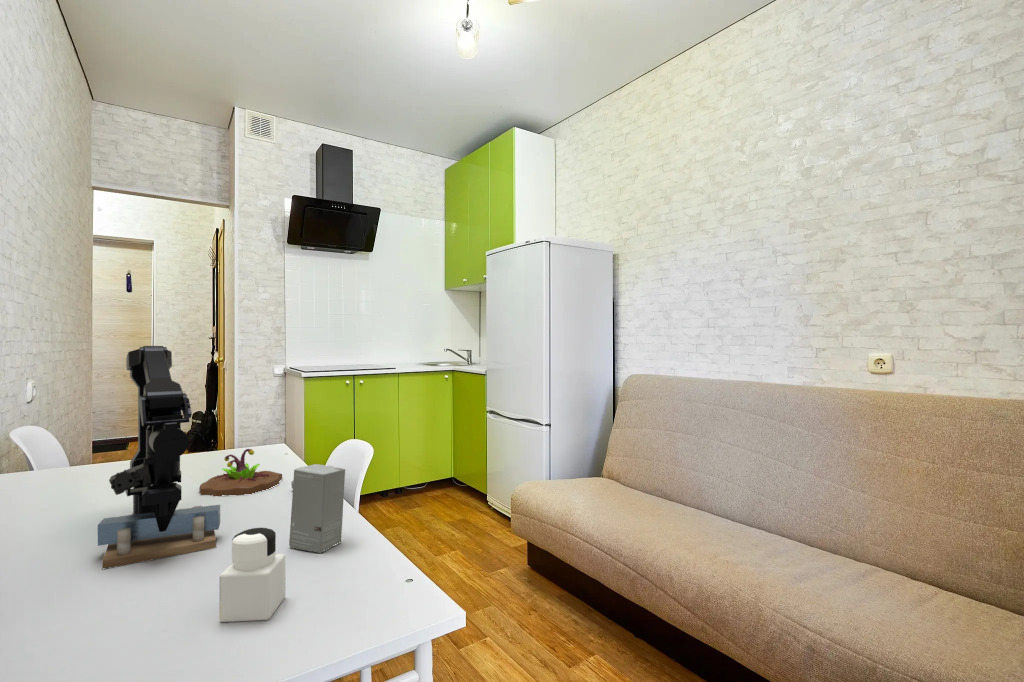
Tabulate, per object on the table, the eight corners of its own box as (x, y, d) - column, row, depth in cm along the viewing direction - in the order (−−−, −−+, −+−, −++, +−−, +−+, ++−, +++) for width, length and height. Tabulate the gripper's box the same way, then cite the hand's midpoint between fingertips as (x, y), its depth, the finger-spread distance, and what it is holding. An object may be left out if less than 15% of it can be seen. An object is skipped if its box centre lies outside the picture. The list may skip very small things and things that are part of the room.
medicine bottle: (240, 599, 82) (240, 524, 82) (286, 597, 82) (286, 523, 82) (218, 623, 75) (218, 541, 75) (268, 620, 75) (268, 539, 75)
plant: (258, 498, 137) (258, 456, 137) (186, 498, 137) (187, 456, 137) (291, 478, 157) (291, 442, 157) (228, 478, 157) (228, 442, 157)
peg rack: (109, 547, 103) (110, 517, 103) (212, 529, 112) (212, 502, 112) (102, 569, 93) (102, 536, 93) (216, 547, 102) (216, 517, 102)
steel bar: (220, 523, 109) (220, 504, 109) (218, 529, 105) (218, 510, 105) (103, 538, 100) (104, 518, 100) (97, 545, 96) (97, 524, 96)
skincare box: (288, 548, 102) (288, 469, 102) (314, 536, 109) (314, 462, 109) (321, 554, 99) (321, 473, 99) (346, 541, 105) (346, 465, 106)
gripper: (117, 447, 106) (117, 521, 106) (107, 465, 90) (106, 552, 90) (181, 441, 112) (181, 512, 112) (181, 457, 97) (181, 539, 96)
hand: (163, 527), depth 103 cm, fingers closed on steel bar, 4 cm apart
